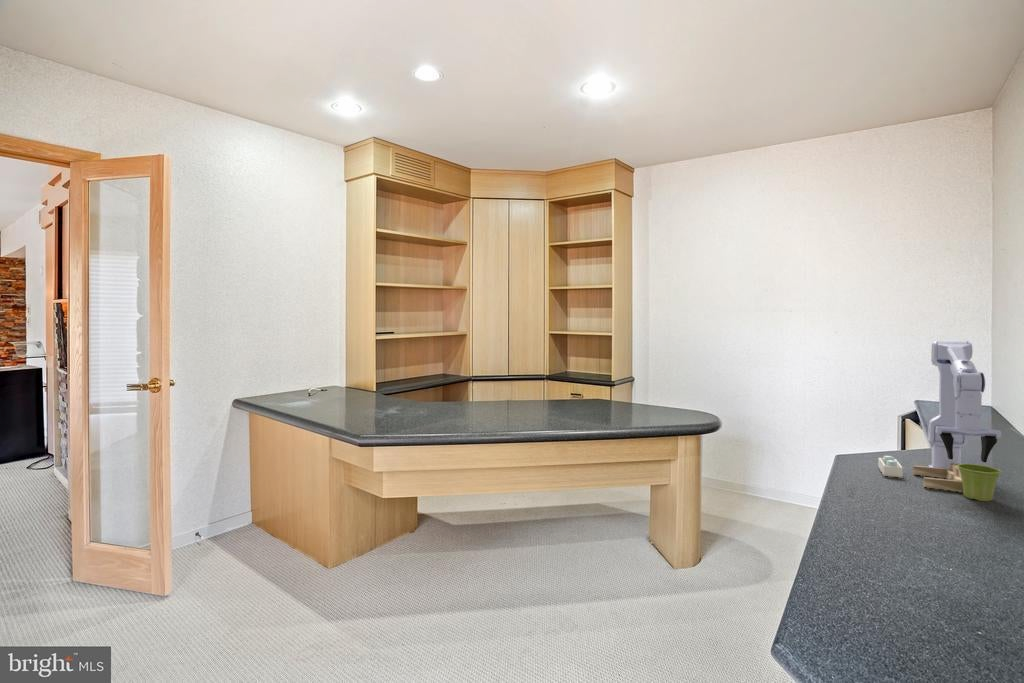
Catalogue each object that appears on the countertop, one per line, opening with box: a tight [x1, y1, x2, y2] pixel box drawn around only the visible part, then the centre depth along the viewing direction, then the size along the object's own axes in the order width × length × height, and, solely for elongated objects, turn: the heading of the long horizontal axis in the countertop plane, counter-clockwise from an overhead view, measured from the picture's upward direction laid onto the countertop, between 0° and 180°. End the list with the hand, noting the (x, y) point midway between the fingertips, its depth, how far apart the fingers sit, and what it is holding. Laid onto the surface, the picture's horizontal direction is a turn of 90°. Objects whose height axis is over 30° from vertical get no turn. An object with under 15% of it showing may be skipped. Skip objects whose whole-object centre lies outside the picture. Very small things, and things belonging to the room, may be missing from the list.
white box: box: [877, 455, 903, 479], centre depth 180 cm, size 12×5×5 cm, turn 153°
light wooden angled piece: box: [912, 463, 963, 493], centre depth 168 cm, size 16×13×5 cm
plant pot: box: [957, 463, 1002, 502], centre depth 154 cm, size 9×9×9 cm
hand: (966, 460), depth 157 cm, fingers open, 7 cm apart
